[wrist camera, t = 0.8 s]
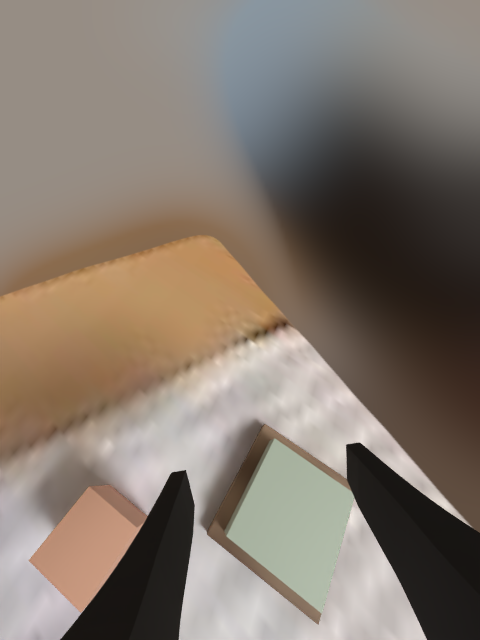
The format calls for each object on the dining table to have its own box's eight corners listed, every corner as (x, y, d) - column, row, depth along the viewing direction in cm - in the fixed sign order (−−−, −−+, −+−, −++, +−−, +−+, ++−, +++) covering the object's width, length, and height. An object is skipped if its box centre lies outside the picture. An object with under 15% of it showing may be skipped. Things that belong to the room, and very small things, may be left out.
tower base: (308, 612, 20) (318, 624, 18) (206, 530, 22) (207, 534, 20) (345, 485, 25) (356, 485, 23) (261, 427, 27) (265, 423, 25)
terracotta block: (107, 582, 19) (80, 612, 15) (65, 542, 20) (28, 560, 15) (149, 517, 21) (136, 527, 17) (110, 484, 22) (88, 486, 18)
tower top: (311, 601, 19) (321, 613, 17) (224, 531, 20) (226, 536, 19) (343, 492, 23) (355, 494, 21) (269, 440, 24) (274, 438, 23)
